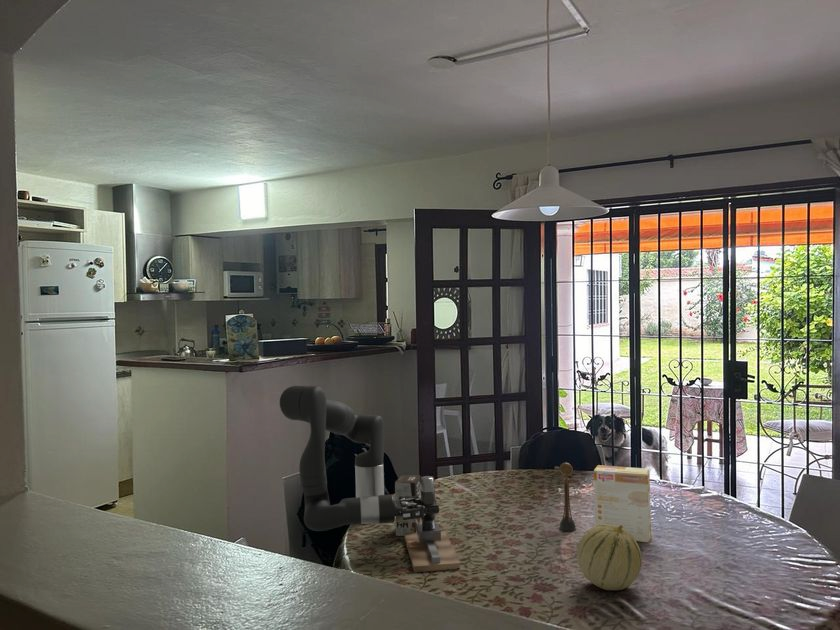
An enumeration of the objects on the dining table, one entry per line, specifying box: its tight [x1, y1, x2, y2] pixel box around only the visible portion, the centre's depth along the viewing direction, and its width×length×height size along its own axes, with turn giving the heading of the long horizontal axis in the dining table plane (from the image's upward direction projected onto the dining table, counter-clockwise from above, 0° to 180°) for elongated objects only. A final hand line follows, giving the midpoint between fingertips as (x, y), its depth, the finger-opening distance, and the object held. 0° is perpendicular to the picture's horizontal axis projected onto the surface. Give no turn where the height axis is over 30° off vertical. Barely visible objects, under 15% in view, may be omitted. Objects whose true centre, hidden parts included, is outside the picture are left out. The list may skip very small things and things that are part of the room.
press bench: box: [404, 530, 461, 573], centre depth 172 cm, size 24×12×3 cm, turn 7°
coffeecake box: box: [593, 464, 652, 543], centre depth 181 cm, size 15×7×20 cm, turn 65°
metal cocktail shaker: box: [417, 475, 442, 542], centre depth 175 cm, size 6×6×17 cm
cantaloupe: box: [576, 524, 643, 591], centre depth 148 cm, size 15×15×15 cm
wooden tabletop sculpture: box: [554, 462, 577, 532], centre depth 188 cm, size 6×5×20 cm
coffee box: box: [394, 474, 422, 537], centre depth 189 cm, size 9×6×16 cm
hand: (436, 505), depth 175 cm, fingers open, 5 cm apart
